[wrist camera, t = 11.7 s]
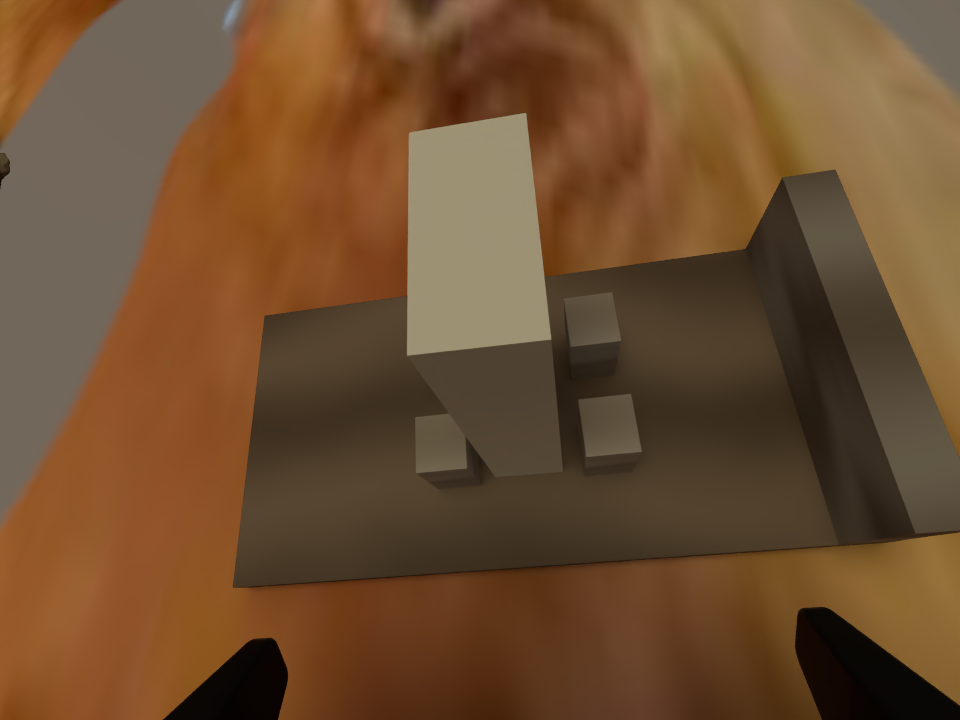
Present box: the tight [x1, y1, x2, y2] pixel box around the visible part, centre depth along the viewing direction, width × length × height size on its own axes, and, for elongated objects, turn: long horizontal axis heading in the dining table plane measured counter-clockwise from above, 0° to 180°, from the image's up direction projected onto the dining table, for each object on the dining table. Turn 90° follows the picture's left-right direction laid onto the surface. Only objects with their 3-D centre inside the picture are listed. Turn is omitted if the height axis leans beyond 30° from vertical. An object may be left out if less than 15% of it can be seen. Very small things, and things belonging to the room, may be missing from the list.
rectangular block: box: [407, 113, 563, 477], centre depth 15 cm, size 5×3×11 cm, turn 3°
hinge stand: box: [233, 170, 960, 588], centre depth 18 cm, size 11×22×5 cm, turn 94°
